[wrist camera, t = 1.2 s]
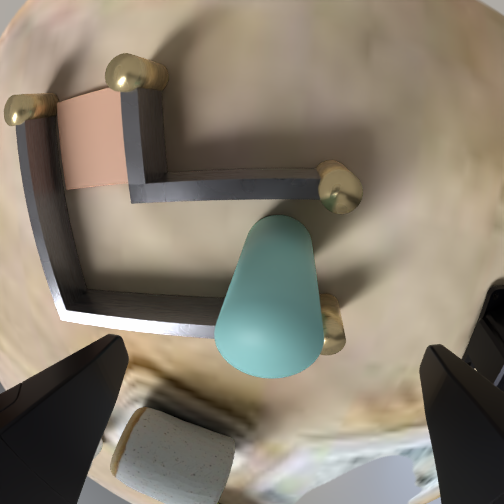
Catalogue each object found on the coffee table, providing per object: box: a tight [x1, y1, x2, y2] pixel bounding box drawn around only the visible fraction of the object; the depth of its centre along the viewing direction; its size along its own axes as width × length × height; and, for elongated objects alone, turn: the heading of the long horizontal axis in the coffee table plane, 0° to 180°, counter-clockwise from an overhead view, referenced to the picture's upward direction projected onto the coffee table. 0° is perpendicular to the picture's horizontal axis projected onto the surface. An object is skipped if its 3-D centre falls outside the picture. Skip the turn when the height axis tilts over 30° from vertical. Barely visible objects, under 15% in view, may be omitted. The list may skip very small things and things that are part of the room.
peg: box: [214, 215, 324, 378], centre depth 12 cm, size 3×3×7 cm
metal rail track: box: [4, 53, 363, 355], centre depth 13 cm, size 16×14×3 cm
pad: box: [57, 88, 128, 190], centre depth 14 cm, size 5×5×1 cm
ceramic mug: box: [110, 407, 235, 504], centre depth 20 cm, size 11×8×8 cm
